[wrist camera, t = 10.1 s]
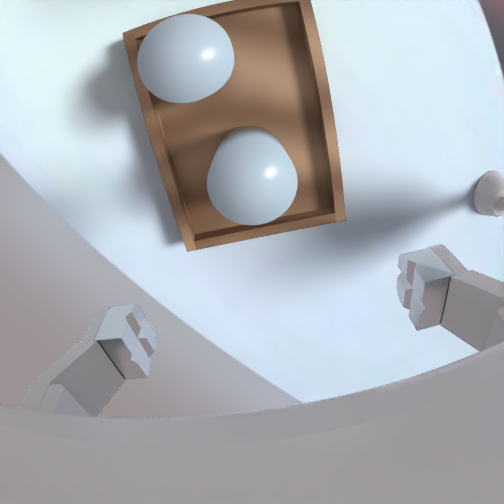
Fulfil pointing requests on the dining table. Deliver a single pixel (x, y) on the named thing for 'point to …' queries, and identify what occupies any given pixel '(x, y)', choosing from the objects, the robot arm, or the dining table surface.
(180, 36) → the white rounded capsule
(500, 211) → the chalice
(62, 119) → the dining table surface
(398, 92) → the dining table surface
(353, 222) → the dining table surface
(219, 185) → the grey rounded piece
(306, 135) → the tray
